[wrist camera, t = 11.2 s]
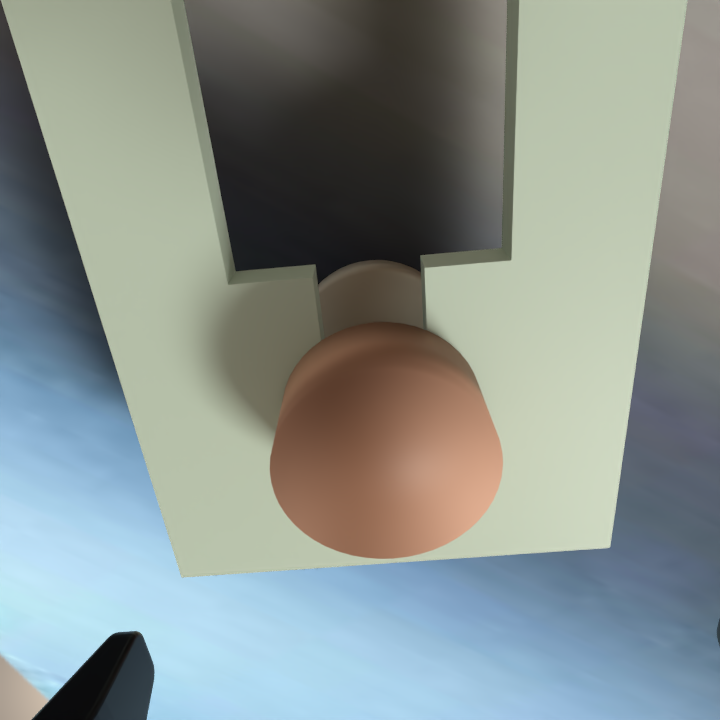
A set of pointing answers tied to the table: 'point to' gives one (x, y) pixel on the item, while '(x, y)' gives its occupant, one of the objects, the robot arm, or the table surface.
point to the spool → (383, 425)
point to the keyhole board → (299, 283)
